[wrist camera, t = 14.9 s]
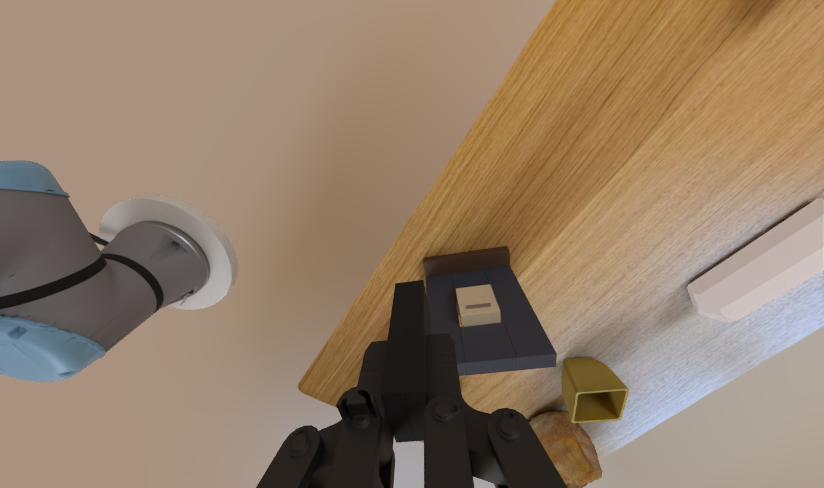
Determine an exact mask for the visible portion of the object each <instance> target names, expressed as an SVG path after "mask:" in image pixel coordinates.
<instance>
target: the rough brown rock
mask: <svg viewBox="0 0 824 488" xmlns="http://www.w3.org/2000/svg"><path fill="white" fill-rule="evenodd" d="M529 424H530V425H531V427H532V429H533V430H534V432H535V434H536V435H537V437H538V439H539V440H540V442H541V444H542V445H543V447H544V449H545V451H546V452H547V454H548V456H549V457H550V459H551V461H552V462H553V464H554V466H555V467H556V469H557V471H558V472H559V474H560V476H561V477H562V479H563V481H564V482H565V484H566V486H567V487H568V488H583V487H584V486H586V485H587V484H588V483H590V482H593V481H594V480H597V479H599V478H601V477H602V470H601V467H600V464H599V461H598V458H597V453H596V450H595V447H594V445H593V443H592V441H591V440H590V438H589V436H588V435H587V433H586V432H585V431H584V430H583V429H582V428H581V426H580V425H579V423H572V421H571V418H570V415H569V413H567V412H565V411H559V412H545V413H543V414H540V415H538V416H536V417H534V418H533V419H531V421H530V422H529Z"/></svg>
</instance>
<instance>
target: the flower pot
mask: <svg viewBox="0 0 824 488" xmlns="http://www.w3.org/2000/svg"><path fill="white" fill-rule="evenodd" d="M628 391H629V389H628V388H627V387H626V386H625V385H624V383H623V382H622V381H621V380H620V379H619V378H618V377H617V376H616V375H615V374H614V372H613V371H612V370H611V369H610V368H609V367H607V366H606V365H605V364H603V363H602V362H600V361H598V360H596V359H594V358H591V357H580V358H568V359H565V360H564V364H563V372H562V393H563V397H564V401H565V403H566V406H567V409H568V412H569V415H570V418H571V421H572V423H584V422H598V421H613V420H620V419H621V417H622V414H623V411H624V407H625V403H626V400H627V396H628Z"/></svg>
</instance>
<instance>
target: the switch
mask: <svg viewBox="0 0 824 488" xmlns="http://www.w3.org/2000/svg"><path fill="white" fill-rule="evenodd" d="M456 295H457V302H458V308H459V313H460V319H461V324H462V327H468V326H476V325H485V324H494V323H501V315H500V309H499V306H498V304H497V301H496V298H495V296H494V293H493V290H492V288H491V285H490V284H488V285H480V286H472V287H465V288H457V289H456Z"/></svg>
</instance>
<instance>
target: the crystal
mask: <svg viewBox="0 0 824 488" xmlns="http://www.w3.org/2000/svg"><path fill="white" fill-rule="evenodd" d="M823 270H824V199H818V198H817V199H816V200H814V201H813V202H811V203H810V204H808V205H807V206H805V207H804V208H802V209H801V210H799V211H798V212H796V213H795V214H793V215H792V216H790V217H789V218H787V219H786V220H784V221H783V222H781V223H780V224H778V225H777V226H775V227H774V228H772V229H771V230H769V231H768V232H767V233H765V234H764V235H762V236H761V237H759V238H758V239H756V240H755V241H753V242H752V243H750V244H749V245H747V246H746V247H744V248H743V249H741V250H740V251H738V252H737V253H735V254H734V255H732V256H731V257H729V258H728V259H726V260H725V261H723V262H722V263H720V264H719V265H717V266H716V267H714V268H713V269H711V270H710V271H708V272H707V273H705V274H704V275H702V276H701V277H699V278H698V279H696V280H695V281H693V282H692V283H690V284H689V285H688V288H687V290H688V293H689V295H690V298H691V301H692V304H693V306H694V308H695V309H696V311H697V312H698V313H700V314H702V315H704V316H706V317H709V318H713V319H717V320H721V321H725V322H729V323H731V322H736V321H737V320H739V319H741V318H743V317H744V316H746V315H748V314H749V313H751V312H753V311H755V310H756V309H758V308H760V307H761V306H763V305H765V304H767V303H768V302H770V301H772V300H773V299H775V298H777V297H779V296H780V295H782V294H784V293H785V292H787V291H789V290H790V289H792V288H794V287H796V286H797V285H799V284H801V283H802V282H804V281H806V280H808V279H809V278H811V277H813V276H814V275H816V274H818V273H820V272H821V271H823Z"/></svg>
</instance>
